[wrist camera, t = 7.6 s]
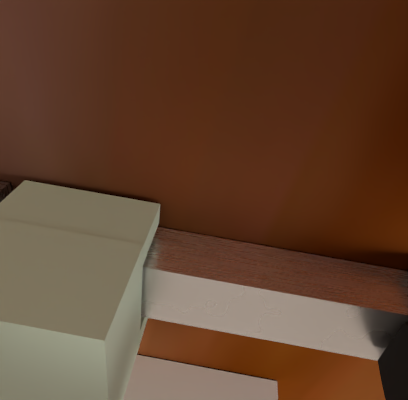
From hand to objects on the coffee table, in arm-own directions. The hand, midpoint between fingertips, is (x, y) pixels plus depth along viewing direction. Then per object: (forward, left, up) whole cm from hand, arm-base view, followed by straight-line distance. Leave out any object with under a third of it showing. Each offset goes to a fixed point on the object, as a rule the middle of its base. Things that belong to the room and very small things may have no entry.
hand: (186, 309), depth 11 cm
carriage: (+4, 0, -2) cm, 4 cm away
